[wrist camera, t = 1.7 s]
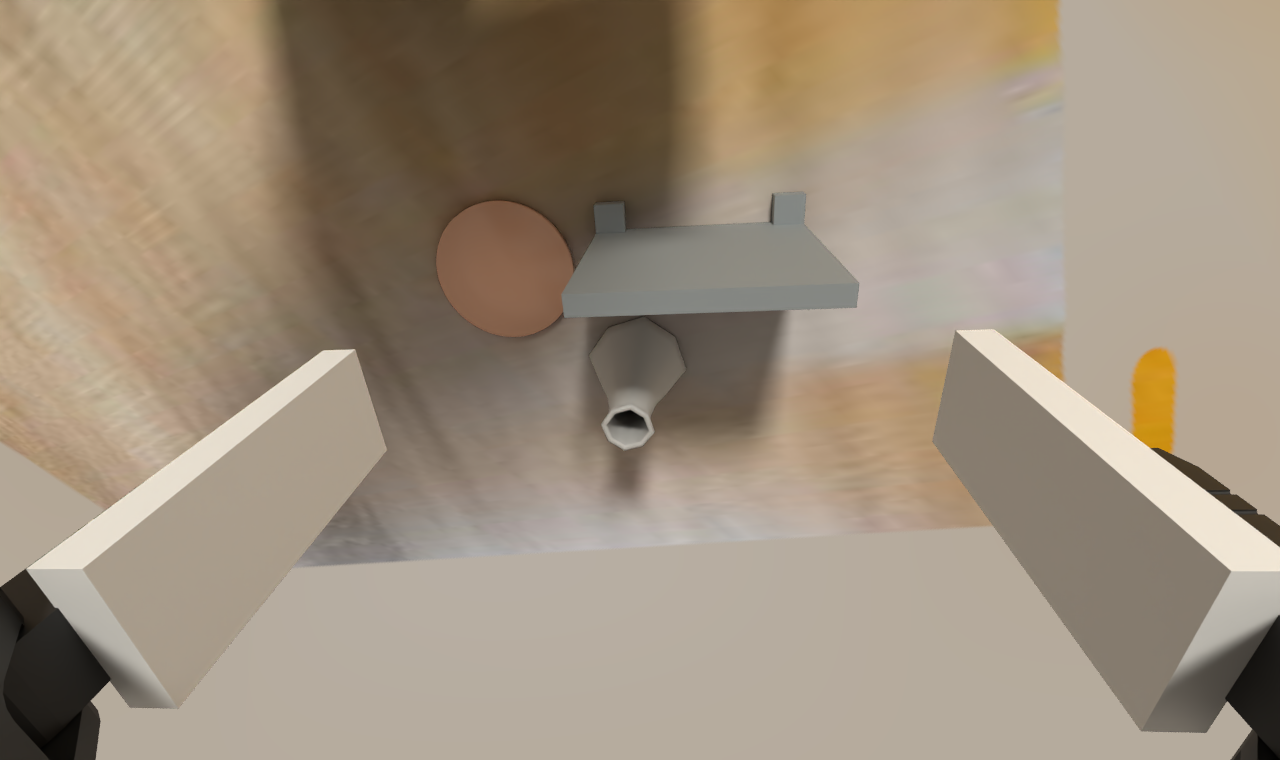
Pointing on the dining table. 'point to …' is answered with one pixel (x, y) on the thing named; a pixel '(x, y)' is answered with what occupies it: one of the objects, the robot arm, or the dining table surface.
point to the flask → (635, 377)
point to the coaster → (504, 268)
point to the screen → (707, 267)
